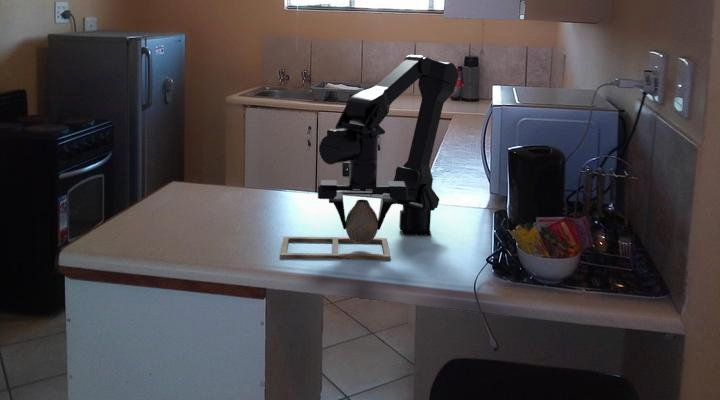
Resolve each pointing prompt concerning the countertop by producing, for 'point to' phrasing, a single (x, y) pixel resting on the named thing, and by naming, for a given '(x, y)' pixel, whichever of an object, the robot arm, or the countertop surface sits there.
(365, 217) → the vase
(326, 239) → the rail frame
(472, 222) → the countertop surface
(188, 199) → the countertop surface
